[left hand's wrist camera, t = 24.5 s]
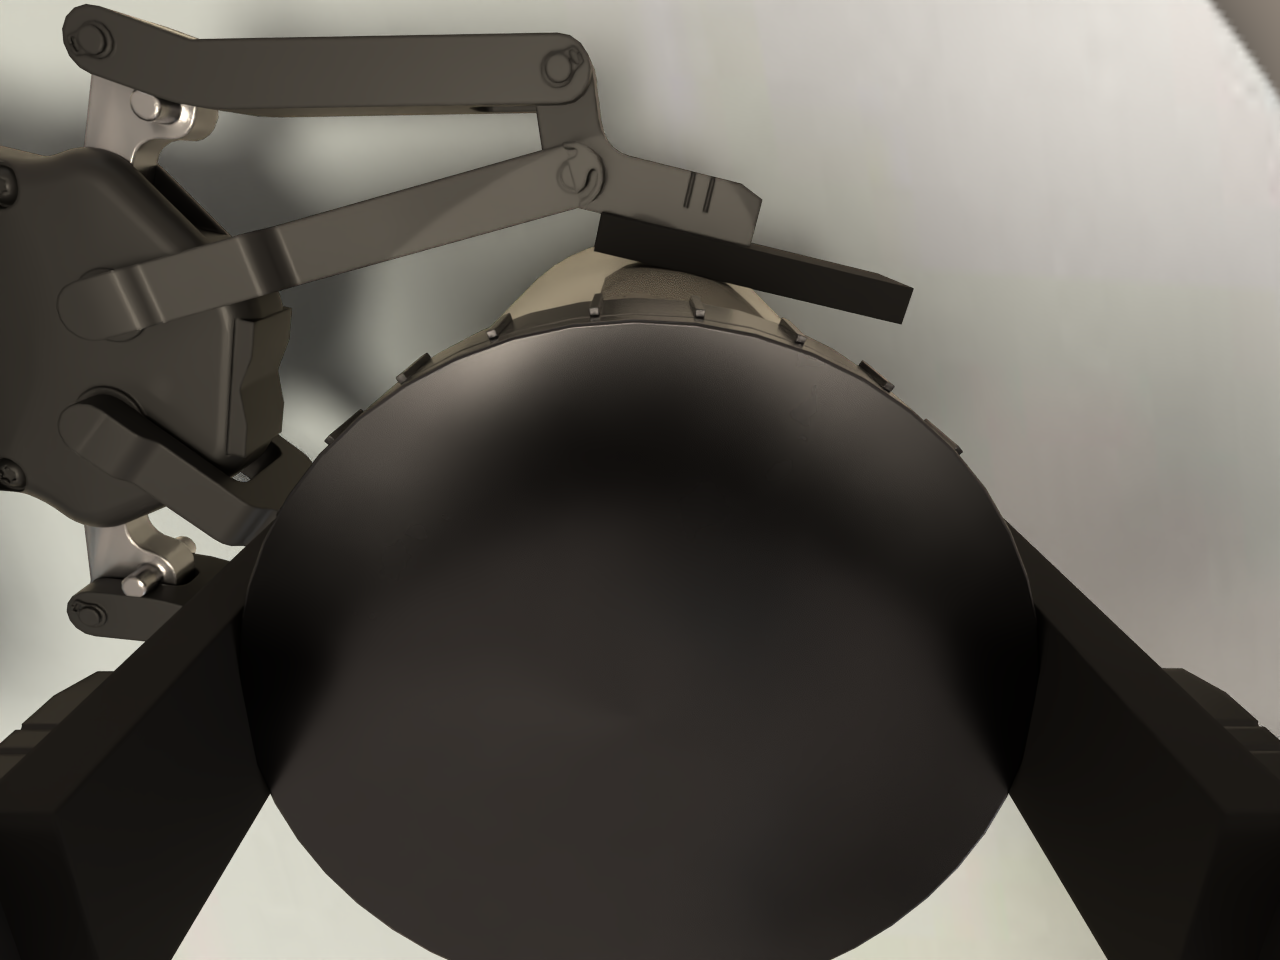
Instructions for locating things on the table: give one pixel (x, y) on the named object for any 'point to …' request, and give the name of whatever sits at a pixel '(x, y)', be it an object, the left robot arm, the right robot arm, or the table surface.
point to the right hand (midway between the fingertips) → (820, 502)
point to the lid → (639, 645)
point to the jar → (630, 286)
